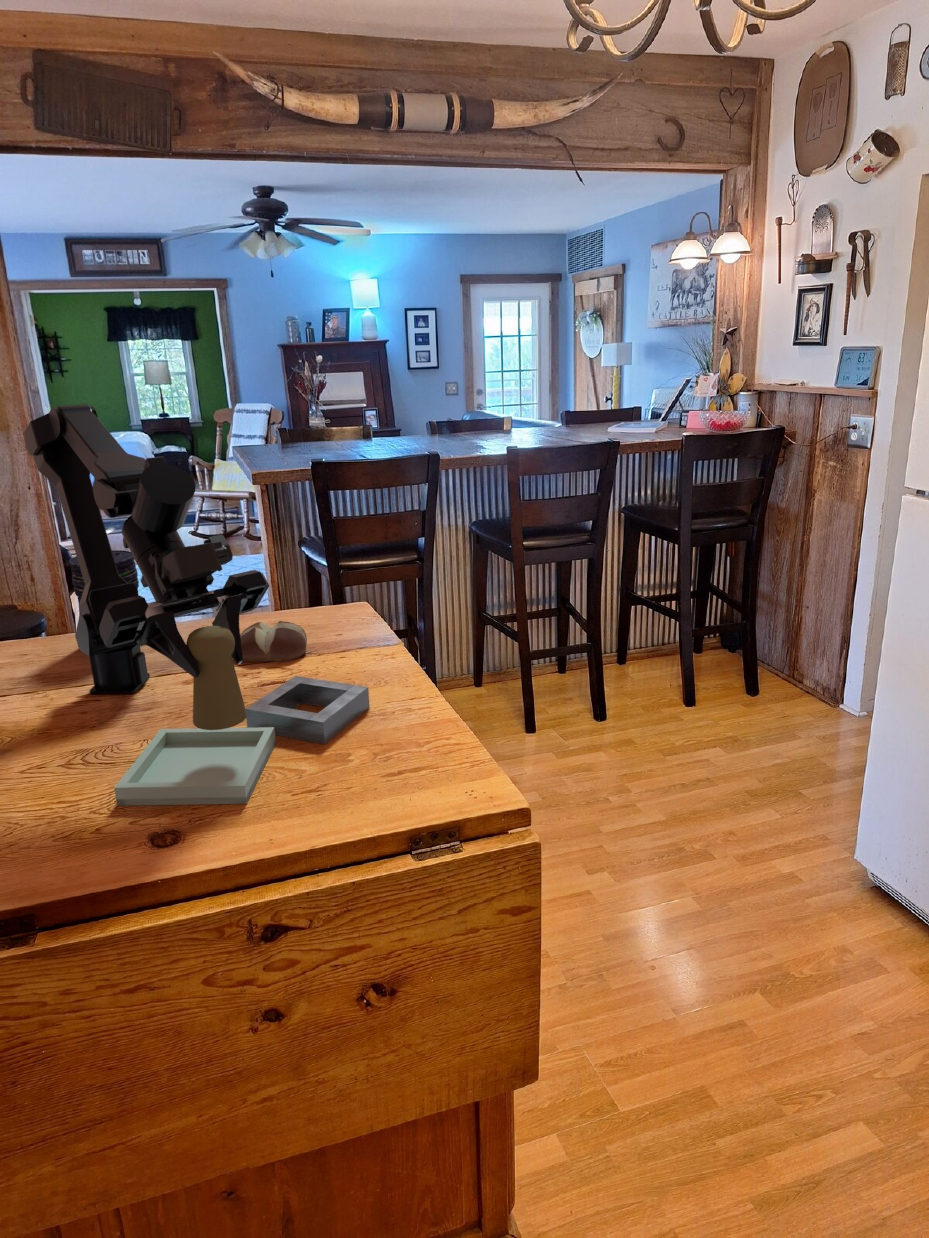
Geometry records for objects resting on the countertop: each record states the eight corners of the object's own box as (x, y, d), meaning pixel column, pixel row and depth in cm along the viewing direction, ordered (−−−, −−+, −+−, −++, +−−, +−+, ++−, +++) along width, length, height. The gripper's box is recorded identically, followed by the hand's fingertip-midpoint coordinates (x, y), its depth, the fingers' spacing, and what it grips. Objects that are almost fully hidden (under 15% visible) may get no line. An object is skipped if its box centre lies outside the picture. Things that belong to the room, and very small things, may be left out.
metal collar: (247, 729, 104) (245, 708, 103) (297, 695, 114) (295, 675, 113) (324, 744, 100) (323, 722, 99) (369, 707, 110) (368, 686, 109)
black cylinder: (108, 658, 129) (93, 568, 125) (71, 648, 134) (55, 560, 130) (160, 640, 137) (147, 554, 133) (123, 630, 142) (110, 547, 138)
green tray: (117, 805, 87) (114, 787, 87) (163, 745, 101) (160, 728, 100) (246, 803, 87) (244, 785, 86) (275, 743, 100) (274, 727, 100)
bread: (301, 664, 126) (298, 634, 124) (228, 665, 126) (224, 635, 125) (315, 640, 136) (313, 612, 135) (248, 640, 137) (245, 612, 135)
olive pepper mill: (213, 704, 98) (202, 618, 94) (257, 710, 96) (247, 622, 92) (181, 726, 92) (169, 635, 89) (227, 733, 90) (216, 640, 87)
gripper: (92, 529, 83) (155, 657, 79) (253, 503, 95) (314, 612, 91) (75, 587, 91) (132, 706, 87) (226, 556, 103) (281, 659, 99)
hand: (219, 668), depth 91 cm, fingers closed on olive pepper mill, 5 cm apart
